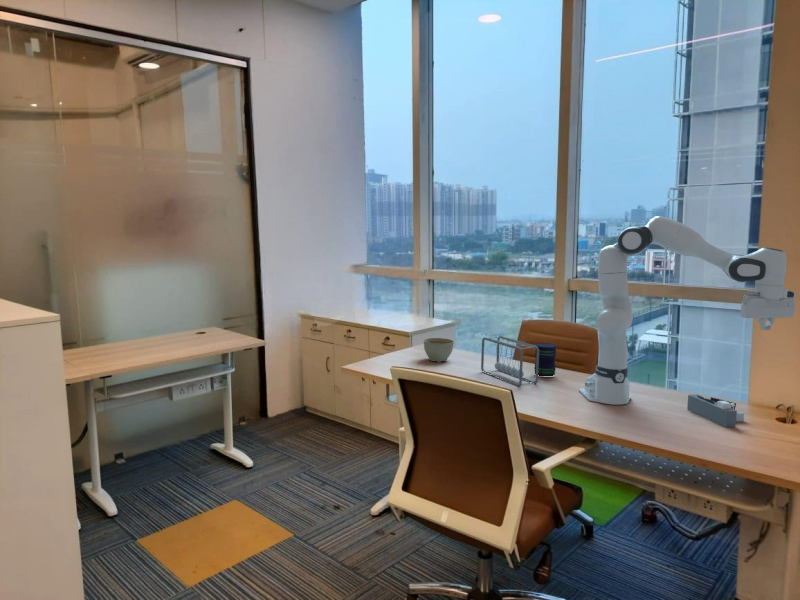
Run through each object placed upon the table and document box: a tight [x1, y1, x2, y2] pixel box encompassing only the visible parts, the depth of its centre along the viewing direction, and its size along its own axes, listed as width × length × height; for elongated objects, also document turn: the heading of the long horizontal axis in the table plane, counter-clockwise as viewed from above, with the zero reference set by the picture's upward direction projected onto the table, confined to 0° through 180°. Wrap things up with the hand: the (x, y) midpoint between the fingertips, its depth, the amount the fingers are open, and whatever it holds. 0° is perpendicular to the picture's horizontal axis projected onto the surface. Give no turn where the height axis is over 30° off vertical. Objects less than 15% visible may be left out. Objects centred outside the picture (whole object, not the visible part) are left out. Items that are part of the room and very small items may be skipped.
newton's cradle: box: [480, 335, 539, 387], centre depth 258 cm, size 30×10×18 cm, turn 27°
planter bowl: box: [423, 337, 455, 363], centre depth 292 cm, size 16×16×11 cm
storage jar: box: [533, 342, 557, 376], centre depth 264 cm, size 10×10×15 cm
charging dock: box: [686, 394, 745, 428], centre depth 206 cm, size 20×12×8 cm, turn 10°
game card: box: [709, 396, 737, 410], centre depth 208 cm, size 7×5×9 cm
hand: (765, 329), depth 201 cm, fingers closed
